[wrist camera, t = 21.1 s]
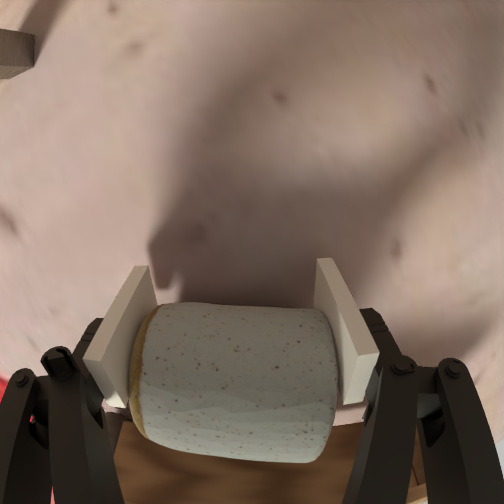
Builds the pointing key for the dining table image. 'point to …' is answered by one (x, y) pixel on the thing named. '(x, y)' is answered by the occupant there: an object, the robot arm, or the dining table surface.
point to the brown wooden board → (238, 472)
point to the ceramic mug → (235, 381)
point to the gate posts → (16, 56)
